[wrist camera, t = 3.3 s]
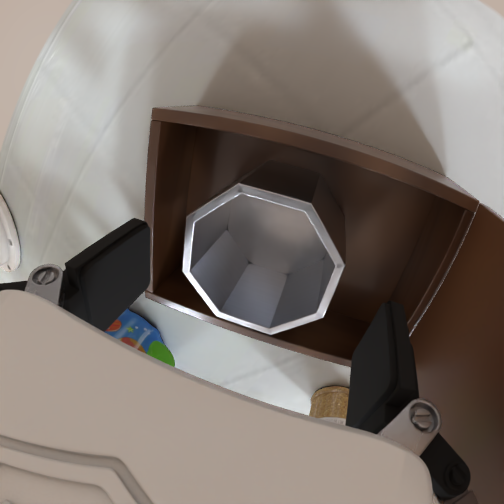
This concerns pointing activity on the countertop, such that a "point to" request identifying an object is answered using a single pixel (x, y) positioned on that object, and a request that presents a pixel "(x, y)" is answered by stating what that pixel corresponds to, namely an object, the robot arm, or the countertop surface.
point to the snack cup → (140, 336)
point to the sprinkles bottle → (330, 404)
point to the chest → (347, 197)
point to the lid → (469, 355)
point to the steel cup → (267, 248)
